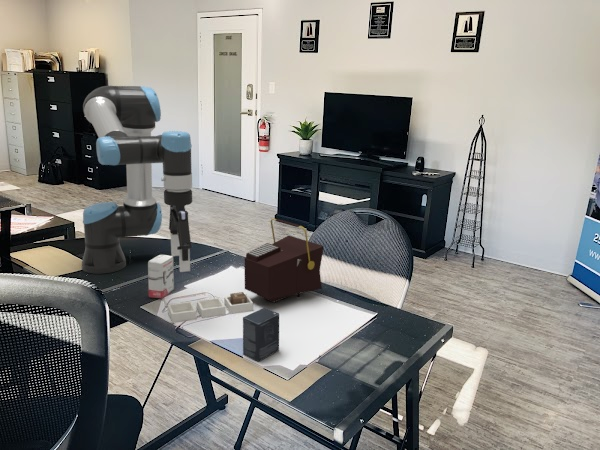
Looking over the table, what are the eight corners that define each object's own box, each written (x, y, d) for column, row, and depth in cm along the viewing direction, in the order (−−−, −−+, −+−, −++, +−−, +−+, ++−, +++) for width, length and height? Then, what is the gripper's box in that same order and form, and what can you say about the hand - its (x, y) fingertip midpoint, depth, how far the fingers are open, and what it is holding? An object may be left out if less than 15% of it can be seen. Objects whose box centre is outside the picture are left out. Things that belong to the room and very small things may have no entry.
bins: (168, 313, 147) (167, 304, 147) (246, 302, 157) (246, 294, 156) (172, 324, 141) (171, 314, 140) (253, 312, 151) (253, 302, 150)
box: (263, 343, 132) (264, 306, 130) (279, 351, 129) (280, 313, 126) (242, 354, 126) (242, 316, 124) (258, 362, 123) (258, 323, 120)
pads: (162, 298, 158) (162, 297, 158) (235, 288, 167) (235, 288, 167) (165, 307, 152) (165, 306, 152) (241, 296, 161) (241, 295, 161)
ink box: (163, 299, 157) (161, 262, 154) (148, 297, 158) (146, 261, 155) (175, 289, 165) (173, 255, 162) (161, 288, 166) (159, 253, 163)
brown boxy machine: (324, 294, 165) (328, 221, 158) (274, 316, 148) (276, 235, 142) (289, 281, 176) (291, 212, 169) (238, 299, 159) (238, 223, 152)
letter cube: (230, 305, 153) (230, 293, 152) (242, 303, 155) (242, 291, 154) (234, 311, 149) (234, 298, 148) (246, 309, 151) (246, 296, 150)
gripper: (157, 181, 145) (160, 251, 151) (171, 199, 123) (174, 280, 129) (183, 180, 148) (185, 248, 154) (201, 198, 126) (203, 276, 132)
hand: (180, 263), depth 141 cm, fingers open, 13 cm apart
